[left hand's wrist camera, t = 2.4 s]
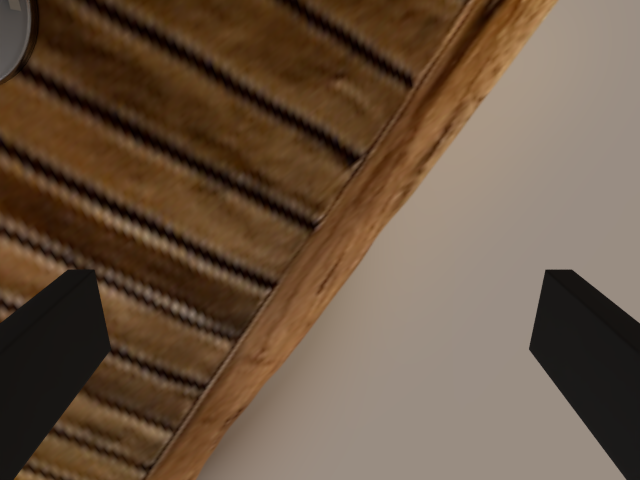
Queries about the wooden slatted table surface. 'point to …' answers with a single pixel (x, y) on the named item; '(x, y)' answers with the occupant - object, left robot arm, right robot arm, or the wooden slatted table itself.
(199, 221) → the wooden slatted table surface
